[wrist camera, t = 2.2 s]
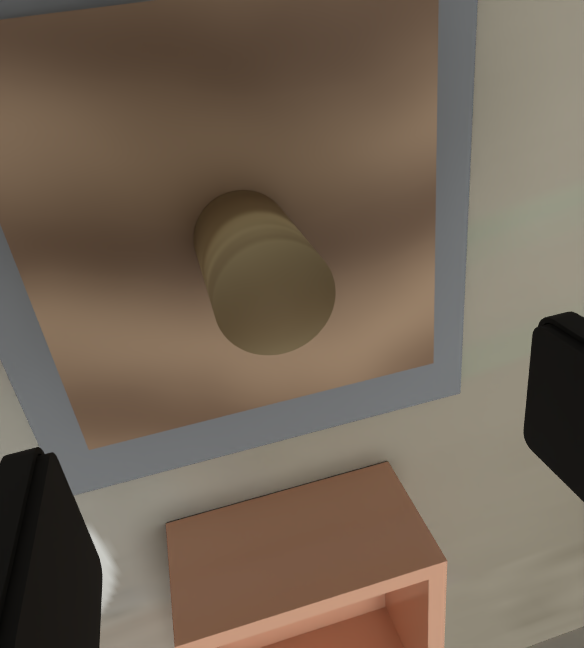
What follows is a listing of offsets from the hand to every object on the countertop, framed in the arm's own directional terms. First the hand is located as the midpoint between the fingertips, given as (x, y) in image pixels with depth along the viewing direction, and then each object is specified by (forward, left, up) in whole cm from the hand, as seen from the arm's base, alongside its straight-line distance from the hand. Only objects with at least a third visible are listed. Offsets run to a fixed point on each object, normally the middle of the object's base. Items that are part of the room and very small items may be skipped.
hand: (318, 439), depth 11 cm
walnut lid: (-1, 0, -11) cm, 11 cm away
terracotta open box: (+18, 0, -11) cm, 21 cm away
